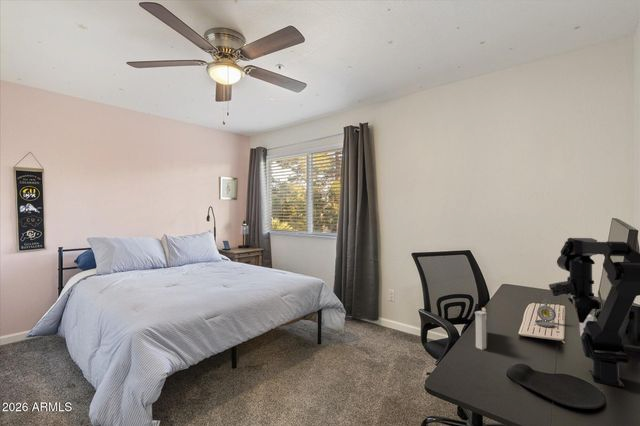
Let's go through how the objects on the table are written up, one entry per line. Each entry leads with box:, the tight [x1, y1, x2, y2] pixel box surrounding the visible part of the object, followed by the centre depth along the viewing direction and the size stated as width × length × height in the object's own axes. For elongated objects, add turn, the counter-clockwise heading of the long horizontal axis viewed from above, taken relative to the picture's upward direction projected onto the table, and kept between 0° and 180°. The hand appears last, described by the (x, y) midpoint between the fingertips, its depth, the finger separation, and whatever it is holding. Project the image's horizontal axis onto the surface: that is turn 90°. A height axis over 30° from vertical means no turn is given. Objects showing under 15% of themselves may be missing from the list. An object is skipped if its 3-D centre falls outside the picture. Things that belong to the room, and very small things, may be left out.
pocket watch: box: [534, 299, 557, 328], centre depth 133 cm, size 8×8×10 cm
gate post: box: [474, 310, 488, 351], centre depth 111 cm, size 3×3×13 cm
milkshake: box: [578, 311, 596, 337], centre depth 119 cm, size 4×5×10 cm
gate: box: [481, 306, 488, 347], centre depth 119 cm, size 16×1×9 cm, turn 154°
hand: (581, 322), depth 102 cm, fingers closed
